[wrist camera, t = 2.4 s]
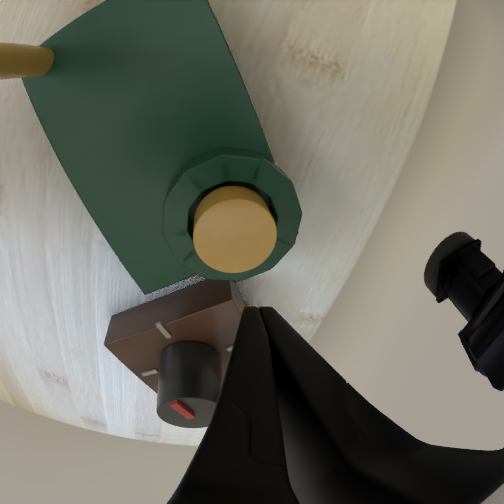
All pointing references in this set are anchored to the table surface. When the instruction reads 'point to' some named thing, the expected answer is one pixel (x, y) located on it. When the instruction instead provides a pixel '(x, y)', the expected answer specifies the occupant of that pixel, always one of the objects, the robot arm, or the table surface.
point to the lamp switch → (233, 229)
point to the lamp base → (156, 132)
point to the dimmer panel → (176, 326)
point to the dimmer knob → (188, 384)
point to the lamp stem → (24, 60)
